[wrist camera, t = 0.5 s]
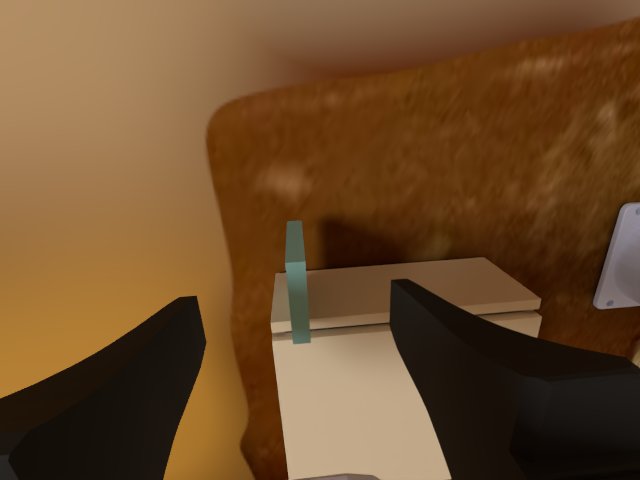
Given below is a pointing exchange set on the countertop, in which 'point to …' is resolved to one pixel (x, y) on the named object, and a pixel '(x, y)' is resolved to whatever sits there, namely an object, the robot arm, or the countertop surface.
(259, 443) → the countertop surface
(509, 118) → the countertop surface
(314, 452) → the carton
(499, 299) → the flap
